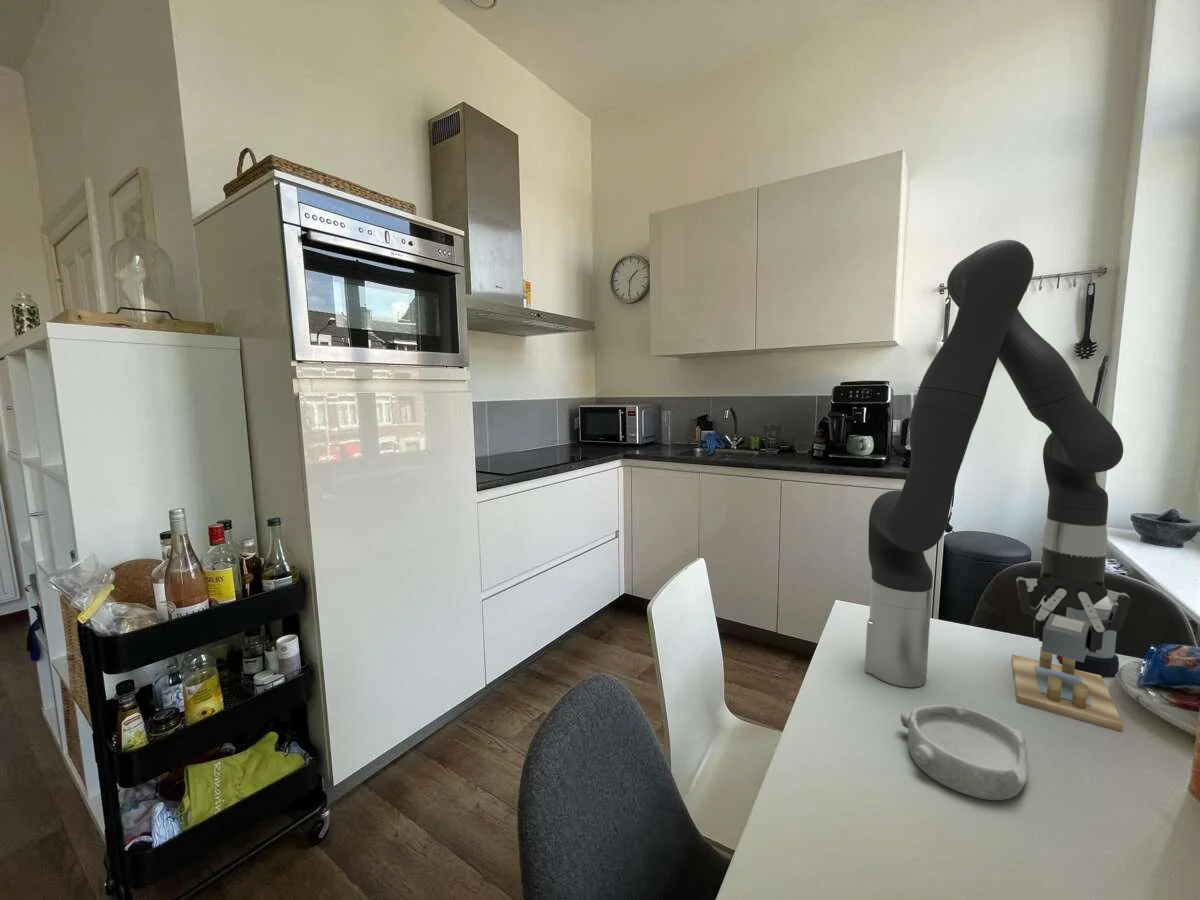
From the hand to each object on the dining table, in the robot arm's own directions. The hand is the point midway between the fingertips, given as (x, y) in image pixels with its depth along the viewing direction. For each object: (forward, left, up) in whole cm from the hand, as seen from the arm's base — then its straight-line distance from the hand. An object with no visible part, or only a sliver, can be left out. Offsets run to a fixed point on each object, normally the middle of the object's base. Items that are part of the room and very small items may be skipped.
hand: (1065, 644), depth 82 cm
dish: (-13, -30, -9) cm, 34 cm away
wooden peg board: (0, 0, -8) cm, 8 cm away
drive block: (0, 0, -1) cm, 1 cm away
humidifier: (+5, +14, -9) cm, 17 cm away
